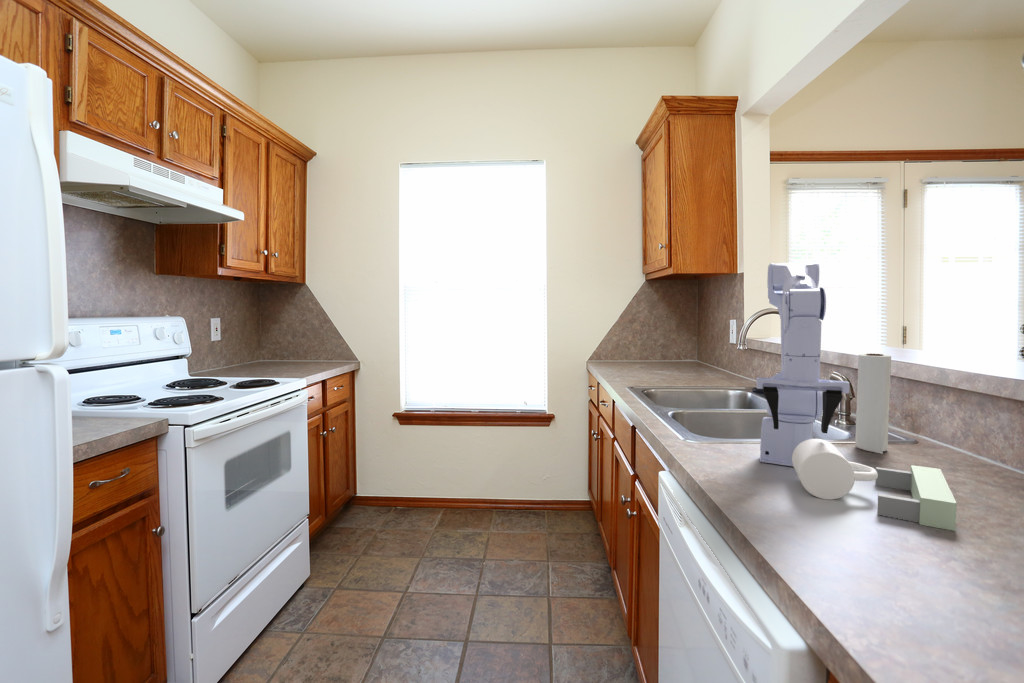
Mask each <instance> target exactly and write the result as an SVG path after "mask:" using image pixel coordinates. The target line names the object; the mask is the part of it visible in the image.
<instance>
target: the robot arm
mask: <svg viewBox="0 0 1024 683" xmlns="http://www.w3.org/2000/svg"><path fill="white" fill-rule="evenodd" d="M766 280H767V281H766V282H767V283H766V284H767V285H766V286H767V298H768V300H769V301H768V303H769V304H770V305H772V306H773V307H776V308H777V312H778V316H779V319H780V353H781V354H780V355H781V356H780V357H781V359H780V362H781V366H780V367H781V370H780V371H779V372H777V373H776V374H774V375H772V376H771V377H763V376H762V377H760V376H759V377H758V376H757V377H756V389H758V390H762V392H763V394H764V397H765V400H766V414H767V415H768V416H764V417H763V418H762V421H761V426H760V427H761V428H760V445H759V446H760V447H759V449H760V450H759V451H760V452H759V453H760V456H759V462H761V463H768V464H773V465H779V466H787V467H793V468H794V466H793V463H792V454H793V451H794V449H795V448H796V447H797V446H798V445H799V444H800V443H801V442H803V441H805V440H809V439H814V423H816V420H819V419H820V418H821V422H820V423H821V424H820V425H821V426H820V431H821V433H823V434H828V430H829V428H830V427H829V426H830V425H831V424H830V423H831V420H832V418H833V416H834V413H835V411H836V409H837V408H838V406H839V405H840V403H841V402H842V400H843V396H844V395H843V394H850V382H849V381H847V380H835V379H834V380H833V379H832V380H831V379H820V377H821V353H822V352H821V351H822V350H821V348H822V347H821V346H822V321H824V320H825V319H824V318H825V315H826V310H827V295H826V291H825V288H824V287H822V286H821V287H819V284H820V264H819V263H818V262H817V261H815V260H813V261H807V262H806V261H805V262H780V263H779V262H778V263H777V262H776V263H774V262H770V264H769V265H768V266H767V279H766Z"/></svg>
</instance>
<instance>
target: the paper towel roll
mask: <svg viewBox="0 0 1024 683" xmlns="http://www.w3.org/2000/svg"><path fill="white" fill-rule="evenodd" d="M857 357H858V359H857V360H858V361H857V387H856V388H857V390H856V411H855V412H856V414H855V416H856V417H855V440H854V441H855V442H854V445H855V447H856V448H857V449H861V450H864V451H868V452H872V453H873V452H874V453H877V454H881V455H884V454H883V453H884V452H887V451H888V447H889V446H888V444H889V443H888V442H889V420H890V419H889V417H890V400H891V399H890V397H891V396H890V394H891V393H890V392H891V373H892V372H891V371H892V370H891V368H892V355H889V354H888V355H887V354H882V353H864V354H863V353H860V354H858V356H857Z"/></svg>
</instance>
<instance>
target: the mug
mask: <svg viewBox="0 0 1024 683" xmlns="http://www.w3.org/2000/svg"><path fill="white" fill-rule="evenodd" d="M792 463H793V466H794V467H793V469H794V471H795V473H796V474H797V477H798V479H799V481H800V483H801V485H802V487H803V488H804V489H805V490H806V491H807V492H808V493H809V494H811V495H812V496H814V497H816V498H818V499H822V500H829V501H830V500H832V501H833V500H838V499H840V498H843V497H845V496H846V495H848V494H849V493H850V492H851V491H852V489H853V487H854V484H855V481H856V482H872V481H876V479H877V478H878V473H877V471H876V468H874V467H871V466H868V465H866V464H863V463H859V462H853V461H848V460H847V459H846V458H845V456H844V455H843V454H842V453H841V452H840V451H839V449H838V448H837V447H836V446H835V445H834V444H833V443H831V442H830V441H828V440H825V439H820V438H813V439H809V440H805V441H803V442H801V443H800V444H799V445H798V446H797V447H796V448H795V449H794V451H793V454H792Z"/></svg>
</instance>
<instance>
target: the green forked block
mask: <svg viewBox="0 0 1024 683" xmlns="http://www.w3.org/2000/svg"><path fill="white" fill-rule="evenodd" d="M875 470H876V471H877V473H878V478H877V479H876V480H875V486H879V487H883V488H885V487H886V488H891V489H898V490H906V491H910V493H911V496H912V498H908V497H901V496H894V495H888V494H884V493H878V494H877V514H878V515H877V516H880V515H883V516H882V517H885V516H888V517H887V518H891V517H893V518H892V519H896V518H898V519H897V520H902V519H903V521H907V520H908V522H914V523H918V522H919V523H918V524H919V525H921V526H927V527H931V528H938V529H942V530H949V531H953V532H956V525H957V507H958V506H957V501H956V499H955V497H954V495H953V492H952V490H951V488H950V486H949V485H948V482H947V480H946V478H945V476H944V473H943V472H942V469H941V468H935V467H928V466H921V465H914V464H913V465H912V464H911V465H910V471H908V470H901V469H900V470H899V469H892V468H886V467H878V466H876V467H875Z"/></svg>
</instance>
